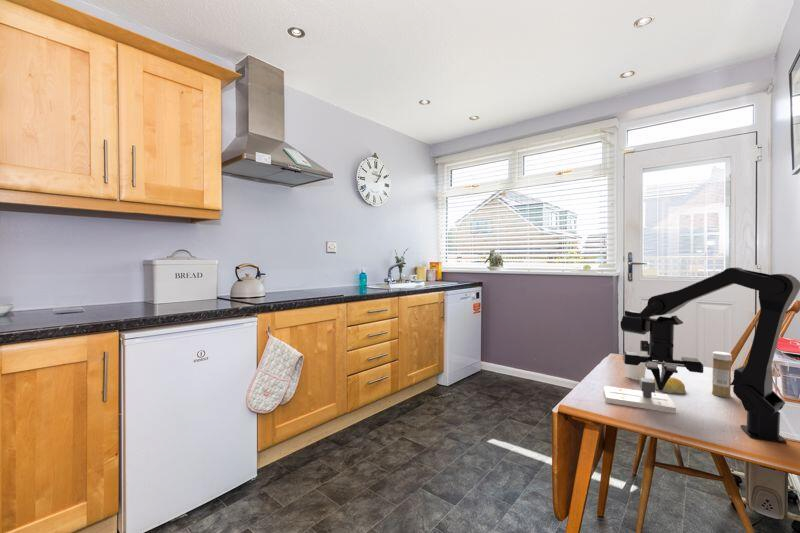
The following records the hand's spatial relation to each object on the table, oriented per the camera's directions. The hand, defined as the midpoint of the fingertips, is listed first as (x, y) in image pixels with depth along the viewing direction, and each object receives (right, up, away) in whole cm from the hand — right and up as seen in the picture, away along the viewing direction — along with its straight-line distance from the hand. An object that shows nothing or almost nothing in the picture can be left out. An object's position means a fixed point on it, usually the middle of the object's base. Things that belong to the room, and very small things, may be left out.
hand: (660, 390), depth 108 cm
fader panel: (-5, -4, +3) cm, 7 cm away
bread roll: (+12, -4, +13) cm, 18 cm away
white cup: (+8, -4, +24) cm, 26 cm away
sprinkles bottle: (+25, -4, +8) cm, 26 cm away
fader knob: (-3, -2, +1) cm, 4 cm away
